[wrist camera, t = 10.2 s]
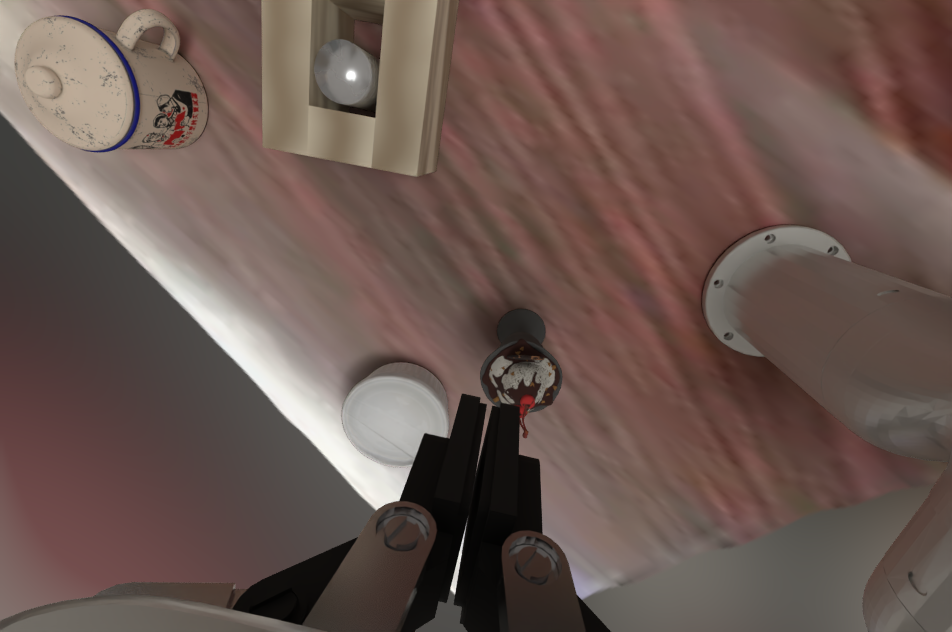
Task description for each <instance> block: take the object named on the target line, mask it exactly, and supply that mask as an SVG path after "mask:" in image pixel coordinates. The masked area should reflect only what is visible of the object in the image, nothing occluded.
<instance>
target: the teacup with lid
mask: <svg viewBox="0 0 952 632" xmlns="http://www.w3.org/2000/svg"><path fill="white" fill-rule="evenodd" d="M152 27H163V29H164V37H163V40H162V43H161V45H157V44H153V43H150V42H146V41H143V40H139V38H140V37H141V35H142V34H143V33H144V32H145V31H147V30H148V29H150V28H152ZM179 47H180V35H179V32H178V30H177V28H176V27H175V25H174V24H173V23H172V22H171V21H170V20H169V19H168V18H167V17H166V16H165V15H163V14H162V13H160V12H158V11H155V10H151V9H142V10H139V11H136V12H134V13H133V14H131V15H130V16H128V17H127V18H126V19H125V21H124V22H123V23H122V25H121V27H120V28H119V30H118V32H117V33H114V32H111V31H107V30H104V29H100V28H97V27H95V26H93V25H92V24H90V23H88V22H86V21H83V20H81V19H78V18H75V17H70V16H60V15H59V16H51V17H45V18H42V19H39V20H37V21H36V22H34V23H32V24H31V25H30V26H28V27H27V28H26V29H25V31H24V32H23V33H22V35H21V37H20V39H19V41H18V44H17V47H16V52H15V72H16V78H17V82H18V85H19V88H20V91H21V94H22V96H23V98H24V100H25V102H26V104H27V106H28V107H29V109H30V110H31V112H32V113H33V115H34V116H35V117H36V118H37V120H38V121H39V122H40V123H41V124H42V125H43V126H44V127H45V128H46V129H47V130H48V131H49V132H50V133H52V134H53V135H54V136H56V137H57V138H59V139H60V140H62V141H63V142H65V143H67V144H69V145H71V146H74V147H76V148H79V149H82V150H85V151H90V152H108V151H112V150H115V149H178V148H183V147H186V146H188V145H190V144H192V143H193V142H194V141H196V140H197V139H198V138H199V136H200V135H201V134H202V132H203V130H204V128H205V125H206V122H207V117H208V102H207V97H206V93H205V90H204V87H203V84H202V82H201V80H200V78H199V76H198V75H197V73H196V72H195V70H194V69H193V68H192V66H191V65H190V64H189V63H188V62H187V61H186V60H185V59H184V58H183V57H182V56H180V55H179V54H178V53H177V52H178V50H179Z"/></svg>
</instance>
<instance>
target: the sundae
mask: <svg viewBox="0 0 952 632" xmlns="http://www.w3.org/2000/svg"><path fill="white" fill-rule="evenodd" d="M497 334H498V338H499V340H500V342H501V345H500V347H499V348H498V349H497V350H495V351H494V352H493V353H492V354H491V355H490V356H488V357H487V359H486V360H485V362H484V364H483V366H482V368H481V372H480V380H481V385H482V388H483V391H484V393H485V394H486V396H487V398H488V399H489V400H490V401H491V402H492V403H493V404H494V405H495V406H497V407H500V404H501V402H502V403H506V404H510V405H515V406H519V407H520V418H522V422H523V425H522V423H521V420H520V425H521V427H522V428H523V430H524V433H523V437H524V438H527V435H528V431H527V429H526V427H525V424H524V417H525V416H526V415H527V413H530V412H536V411H539V410H542V409H544V408H545V407H547V406H549V405H551V404H552V403H553V401H554V399H555V398H556V396H557V395H558V393H559V391H560V388H561V384H562V371H561V368H560V366H559V364H558V362H557V360H556V359H555V358H554V357H553V356H552V355H551V354H550V353H549V352H548V351H546V350H545V349H544V348H543V346H542V345H541V344H542V342H543V340H544V338H545V325H544V323H543V320H542V319H541V318H540V317H539V316H538V315H537V314H536V313H534V312H532V311H530V310H526V309H516V310H513V311H511V312H508V313H507V314H506V315H504V316H503V317H502V318H501V320H500V322H499V324H498V329H497ZM523 426H524V427H523Z"/></svg>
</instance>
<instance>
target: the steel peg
mask: <svg viewBox="0 0 952 632" xmlns="http://www.w3.org/2000/svg"><path fill="white" fill-rule="evenodd" d="M379 67H380V60H379V59H378V58H376V57H375V56H373V55H371V54H370V53H368V52H366V51H365V50H363V49H362V48H360V47H358V46H357V45H355V44H353V43H352V42H350V41H347V40H343V39H336V40H332V41H329V42H328V43H326V44H325V45H323V46H322V48H321V49H320V50H319V52H318V54H317V56H316V59H315V64H314V73H315V78H316V82H317V84H318V86H319V88H320V90H321V91H322V92H323V94H324V95H325V96H326V97H327V98H329V99H330V100H332V101H334V102H336V103H339V104H344V105H348V106H352V107H356V108H360V109H364V110H369V111H373V112H376V105H377V92H378V80H379Z"/></svg>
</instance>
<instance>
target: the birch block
mask: <svg viewBox="0 0 952 632" xmlns="http://www.w3.org/2000/svg"><path fill="white" fill-rule="evenodd" d="M458 4H459V0H262V133H263V147H264V148H269V149H274V150H280V151H285V152H290V153H295V154H300V155H306V156H311V157H316V158H321V159H327V160H332V161H337V162H342V163H348V164H353V165H358V166H363V167H369V168H374V169H379V170H384V171H389V172H395V173H400V174H405V175H410V176H416V177H417V176H421V175H425V174H428V173H432V172H436V169H437V161H438V154H439V146H440V139H441V131H442V124H443V116H444V109H445V101H446V94H447V86H448V79H449V71H450V64H451V56H452V49H453V41H454V34H455V26H456V19H457V11H458ZM355 20H360V21H365V22H371V23H376V24H382V25H383V30H382V43H381V55H380V67H379V80H378V92H377V105H376V117H375V118H373V117H368V116H362V115H357V114H352V113H349V106H348V105H344V104H339V103H336V102H334V101H332V100H330V99H329V98H327V97H326V96H325V95H324V94H323V92H322V91H321V90H320V88H319V86H318V84H317V82H316V78H315V73H314V64H315V59H316V56H317V54H318V52H319V50H320V49H321V48H322V46H323V45H325V44H326V43H328V42H329V41H332V40H336V39H343V40H347V41H350V42H352V43H353V38H354V21H355Z"/></svg>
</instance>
